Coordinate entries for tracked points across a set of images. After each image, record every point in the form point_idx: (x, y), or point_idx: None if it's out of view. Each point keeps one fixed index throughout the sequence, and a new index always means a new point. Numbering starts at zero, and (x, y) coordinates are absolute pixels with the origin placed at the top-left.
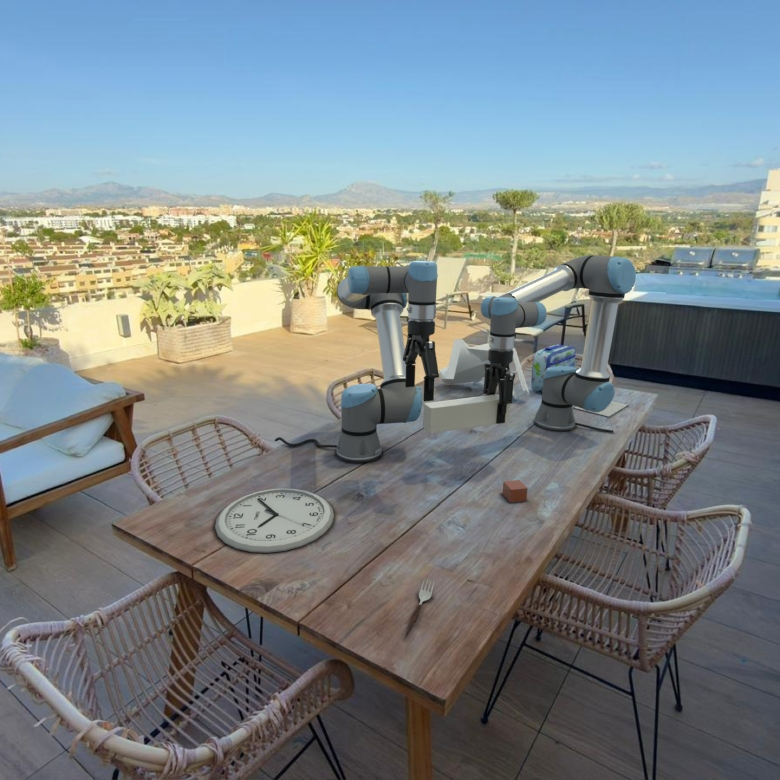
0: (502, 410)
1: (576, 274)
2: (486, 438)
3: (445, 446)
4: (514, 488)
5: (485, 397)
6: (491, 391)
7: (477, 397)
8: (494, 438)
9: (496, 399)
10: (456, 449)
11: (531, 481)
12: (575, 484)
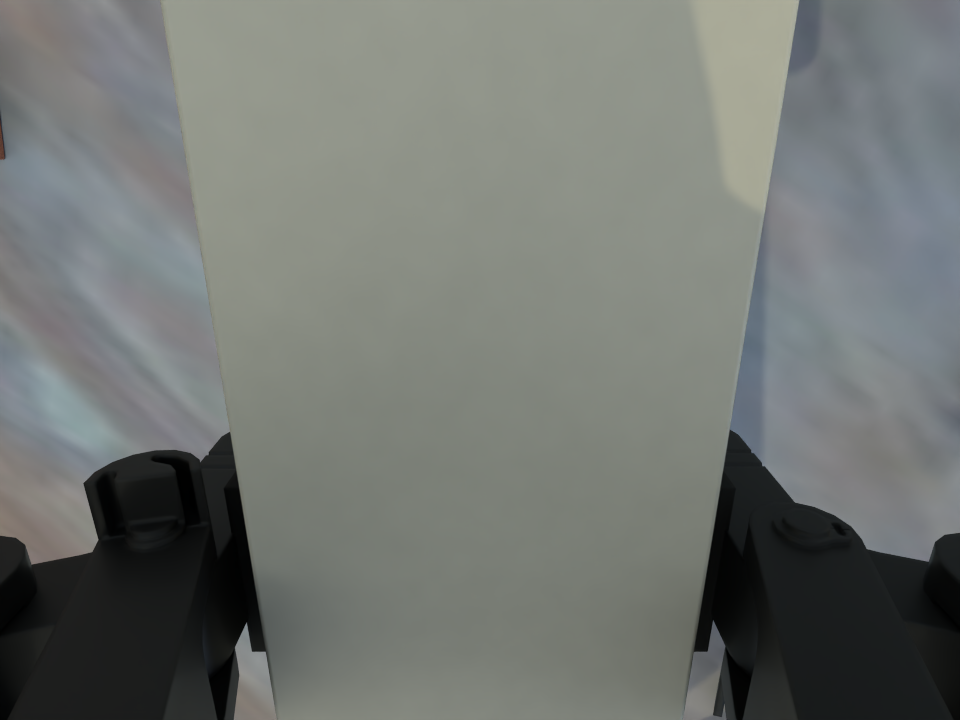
0: (205, 464)
1: None
2: (828, 433)
3: (883, 50)
4: None
5: (568, 337)
6: (763, 699)
7: (692, 53)
8: (798, 480)
9: (281, 529)
10: (784, 113)
11: (144, 333)
12: (70, 530)
